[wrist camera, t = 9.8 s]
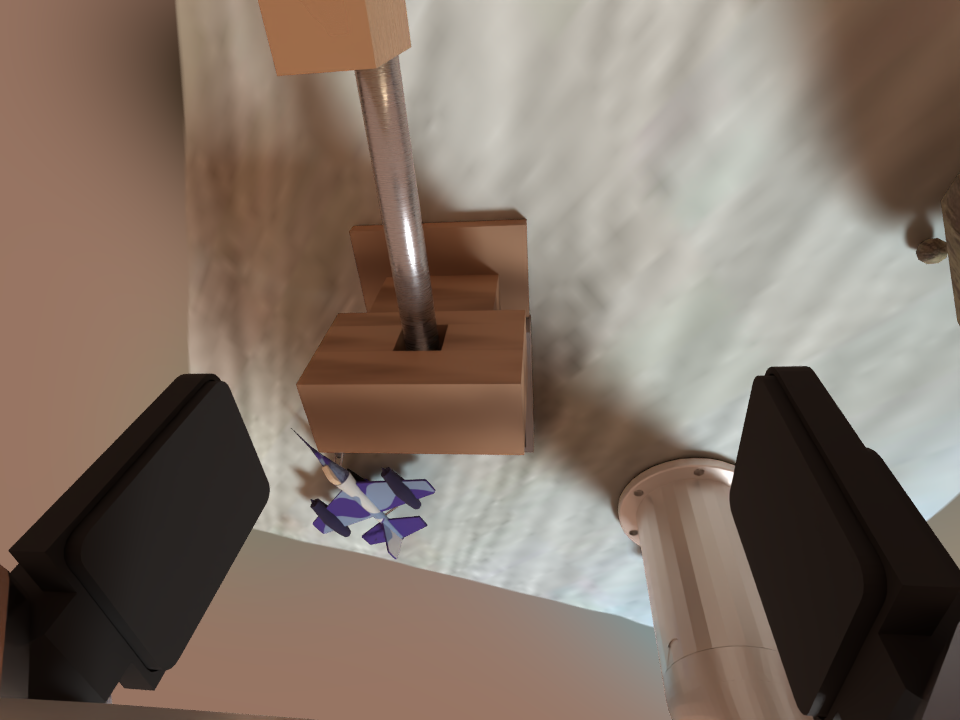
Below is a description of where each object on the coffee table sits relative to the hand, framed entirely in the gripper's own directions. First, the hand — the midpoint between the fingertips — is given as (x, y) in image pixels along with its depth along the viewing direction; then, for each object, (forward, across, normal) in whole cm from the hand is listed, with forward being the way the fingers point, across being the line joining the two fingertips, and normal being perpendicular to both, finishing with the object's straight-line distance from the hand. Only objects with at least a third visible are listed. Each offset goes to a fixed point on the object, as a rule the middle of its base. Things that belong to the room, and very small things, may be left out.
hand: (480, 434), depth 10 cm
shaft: (+21, +7, +3) cm, 22 cm away
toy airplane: (+30, +17, +31) cm, 46 cm away
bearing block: (+29, +7, +10) cm, 31 cm away
